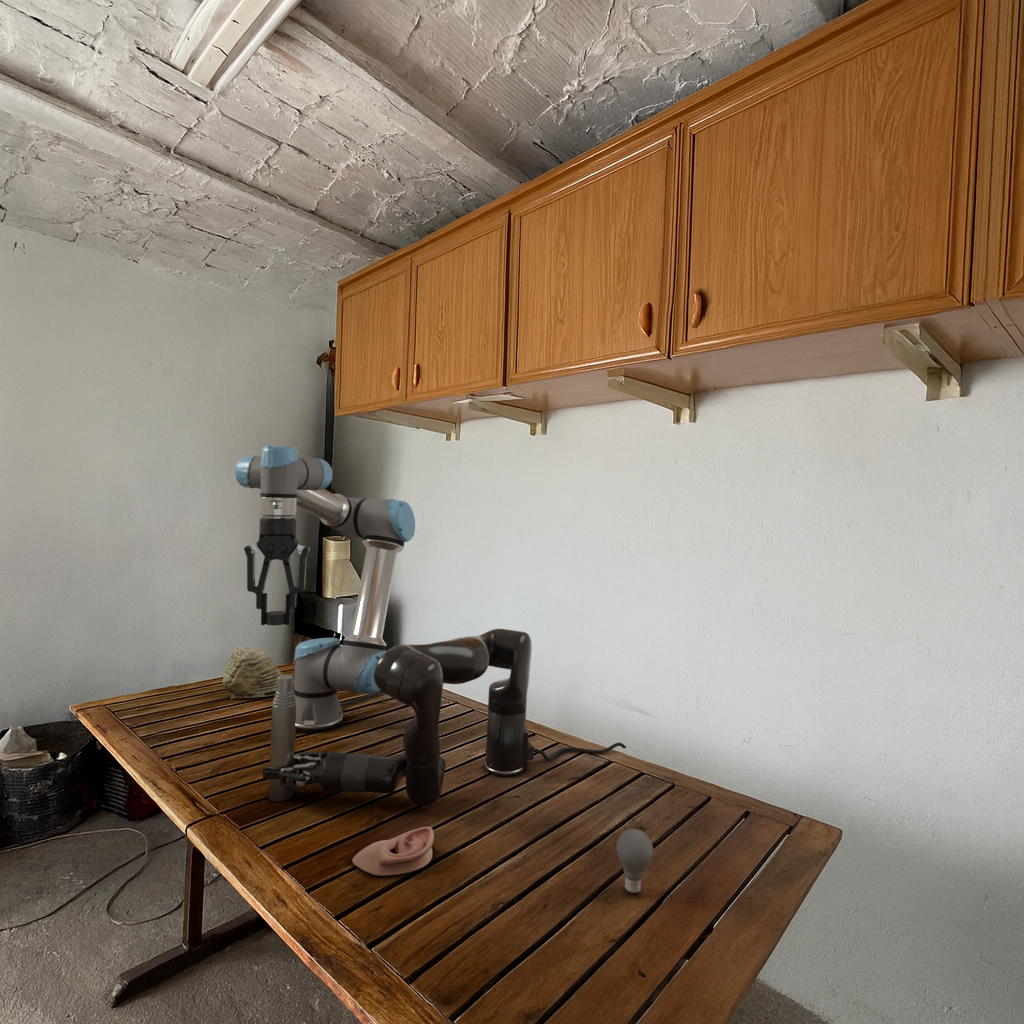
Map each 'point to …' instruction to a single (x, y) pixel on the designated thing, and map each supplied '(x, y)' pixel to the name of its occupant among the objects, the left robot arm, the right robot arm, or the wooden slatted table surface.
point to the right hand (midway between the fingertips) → (269, 767)
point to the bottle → (282, 735)
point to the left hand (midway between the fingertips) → (275, 623)
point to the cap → (275, 618)
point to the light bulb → (634, 857)
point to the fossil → (250, 674)
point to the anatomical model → (397, 853)
